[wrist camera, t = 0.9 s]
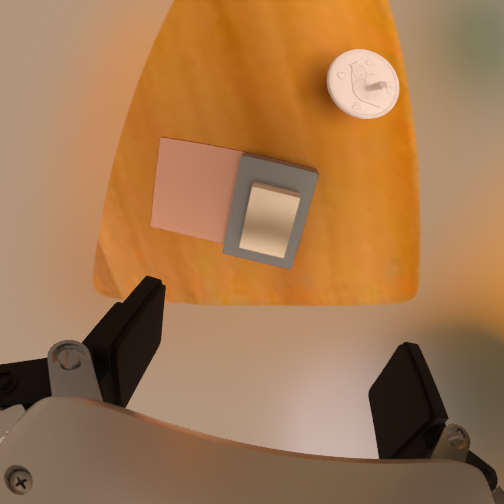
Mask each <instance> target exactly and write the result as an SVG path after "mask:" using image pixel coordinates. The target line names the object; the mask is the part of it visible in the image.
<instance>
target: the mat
mask: <svg viewBox="0 0 504 504" xmlns="http://www.w3.org/2000/svg"><path fill="white" fill-rule="evenodd" d="M243 153H244V152H243V151H238V150H233V149H228V148H223V147H218V146H212V145H207V144H201V143H196V142H190V141H184V140H177V139H171V138H164V137H161V138H160V146H159V153H158V161H157V169H156V178H155V187H154V197H153V208H152V221H151V227H155V228H159V229H163V230H168V231H172V232H176V233H180V234H184V235H189V236H193V237H197V238H201V239H205V240H210V241H214V242H218V243H222V244H224V241H225V236H226V230H227V225H228V220H229V215H230V209H231V204H232V199H233V194H234V189H235V184H236V179H237V174H238V169H239V164H240V159H241V155H242V154H243Z"/></svg>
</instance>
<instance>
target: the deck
mask: <svg viewBox="0 0 504 504" xmlns="http://www.w3.org/2000/svg"><path fill="white" fill-rule="evenodd" d="M318 175H319V173H318V171H317V169H314V168H310V167H307V166H303V165H299V164H295V163H291V162H287V161H283V160H279V159H274V158H270V157H266V156H261V155H257V154H252V153H248V152H244V153H243V154H242V155H241V159H240V164H239V169H238V174H237V179H236V184H235V189H234V194H233V199H232V204H231V209H230V215H229V220H228V225H227V230H226V236H225V241H224V247H223V252H222V253H223V254H227V255H231V256H235V257H240V258H244V259H248V260H252V261H256V262H260V263H265V264H269V265H273V266H277V267H281V268H286V269H290V270H291V268H292V265H293V261H294V258H295V255H296V252H297V248H298V245H299V242H300V238H301V235H302V231H303V228H304V225H305V221H306V218H307V214H308V211H309V207H310V204H311V200H312V197H313V193H314V189H315V186H316V182H317V179H318ZM255 181H256V182H260V183H264V184H269V185H273V186H277V187H281V188H285V189H289V190H293V191H297V192H300V201H299V205H298V209H297V212H296V216H295V220H294V223H293V227H292V230H291V234H290V238H289V241H288V245H287V248H286V252H285V255H284V258H280V257H276V256H272V255H268V254H264V253H259V252H255V251H251V250H247V249H243V248H239V245H240V241H241V236H242V231H243V227H244V222H245V217H246V212H247V208H248V203H249V198H250V194H251V189H252V186H253V184H254V182H255Z"/></svg>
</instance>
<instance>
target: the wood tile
mask: <svg viewBox="0 0 504 504" xmlns="http://www.w3.org/2000/svg"><path fill="white" fill-rule="evenodd" d="M299 201H300V192H297V191H293V190H289V189H285V188H281V187H277V186H273V185H269V184H264V183H260V182H256V181H255V182H254V184H253V186H252V189H251V194H250V198H249V203H248V208H247V212H246V217H245V222H244V227H243V231H242V236H241V241H240V245H239V248H243V249H247V250H251V251H255V252H259V253H264V254H268V255H272V256H276V257H280V258H284V255H285V252H286V248H287V245H288V241H289V238H290V234H291V230H292V227H293V223H294V220H295V216H296V212H297V209H298V205H299Z"/></svg>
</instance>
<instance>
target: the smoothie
mask: <svg viewBox="0 0 504 504" xmlns="http://www.w3.org/2000/svg"><path fill="white" fill-rule="evenodd" d="M327 87H328V92H329V94H330V96H331V98H332V100H333V101H334V102H335V104H336V105H337V106H338V107H339V108H340V109H341V110H343V111H344V112H345V113H347V114H349V115H351V116H353V117H356V118H361V119H373V118H377V117H380V116H383V115H384V114H386V113H388V112H389V111H390V110H391V109H392V108H393V107H394V105H395V103H396V102H397V99H398V96H399V81H398V77H397V75H396V72H395V70H394V69H393V67H392V66H391V64H390V63H389V62H388V61H387V60H386V59H385V58H383V57H382V56H380V55H379V54H377V53H375V52H372V51H369V50H364V49H355V50H350V51H347V52H345V53H343V54H341V55H340V56H338V57H337V58H336V59H335V60H334V61H333V62H332V63H331V65H330V67H329V70H328V72H327Z"/></svg>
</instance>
